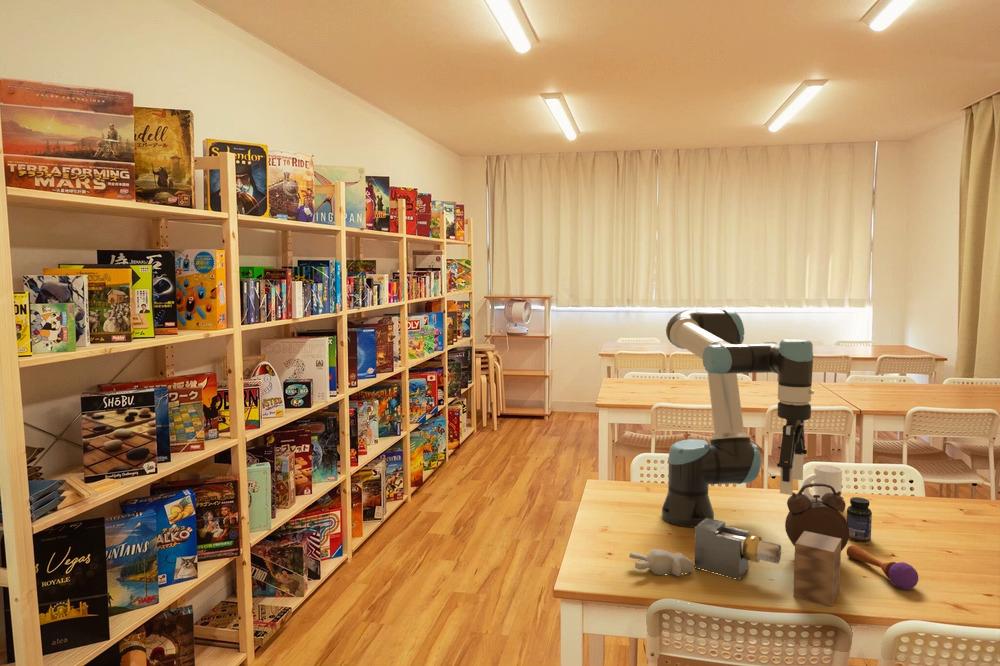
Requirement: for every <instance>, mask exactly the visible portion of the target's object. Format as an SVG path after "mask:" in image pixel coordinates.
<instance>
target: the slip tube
mask: <svg viewBox="0 0 1000 666" xmlns="http://www.w3.org/2000/svg"><path fill="white" fill-rule="evenodd" d="M717 534H720V535H724V536H728V537H733V538H737V539H741V555H743V558H744V559H745V560H749V561H750V562H754V563H760V561H764V562H769V563H771V564H776V565H779V563H780V561H781V555H782V545H781V544H776V543H772V542H767V541H764V540H763V538H762V537H761V536H757V535H753V534H750V533H749V534H747V535H746V537H743V536H738V535H734V534H729V533H725V532H721V531H719V532H718V533H717ZM749 561H748V562H749Z"/></svg>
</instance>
